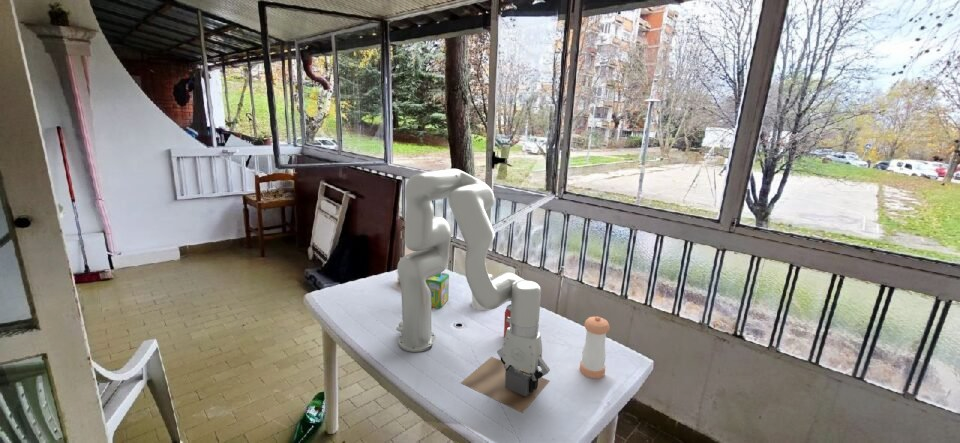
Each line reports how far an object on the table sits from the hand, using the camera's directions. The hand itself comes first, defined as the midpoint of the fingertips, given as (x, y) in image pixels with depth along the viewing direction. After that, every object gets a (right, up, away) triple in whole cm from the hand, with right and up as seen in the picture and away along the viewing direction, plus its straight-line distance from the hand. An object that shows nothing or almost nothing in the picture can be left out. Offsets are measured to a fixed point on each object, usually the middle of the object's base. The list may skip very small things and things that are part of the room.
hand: (521, 384), depth 113 cm
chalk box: (-30, +12, +54) cm, 63 cm away
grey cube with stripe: (0, 0, 0) cm, 0 cm away
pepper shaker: (+22, -1, +10) cm, 24 cm away
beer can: (0, +4, +28) cm, 28 cm away
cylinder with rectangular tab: (-10, +11, +52) cm, 54 cm away
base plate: (-4, -2, +4) cm, 6 cm away
